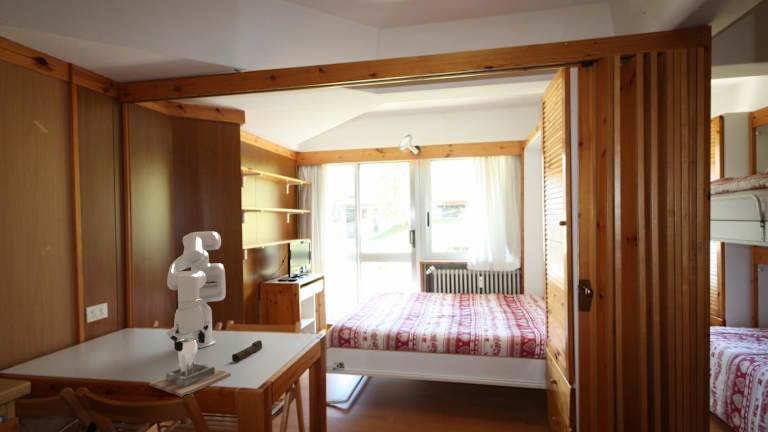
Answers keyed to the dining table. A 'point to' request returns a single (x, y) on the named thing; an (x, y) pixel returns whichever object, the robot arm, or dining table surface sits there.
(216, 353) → the dining table surface
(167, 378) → the glass dock
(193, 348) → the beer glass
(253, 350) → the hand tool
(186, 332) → the robot arm
